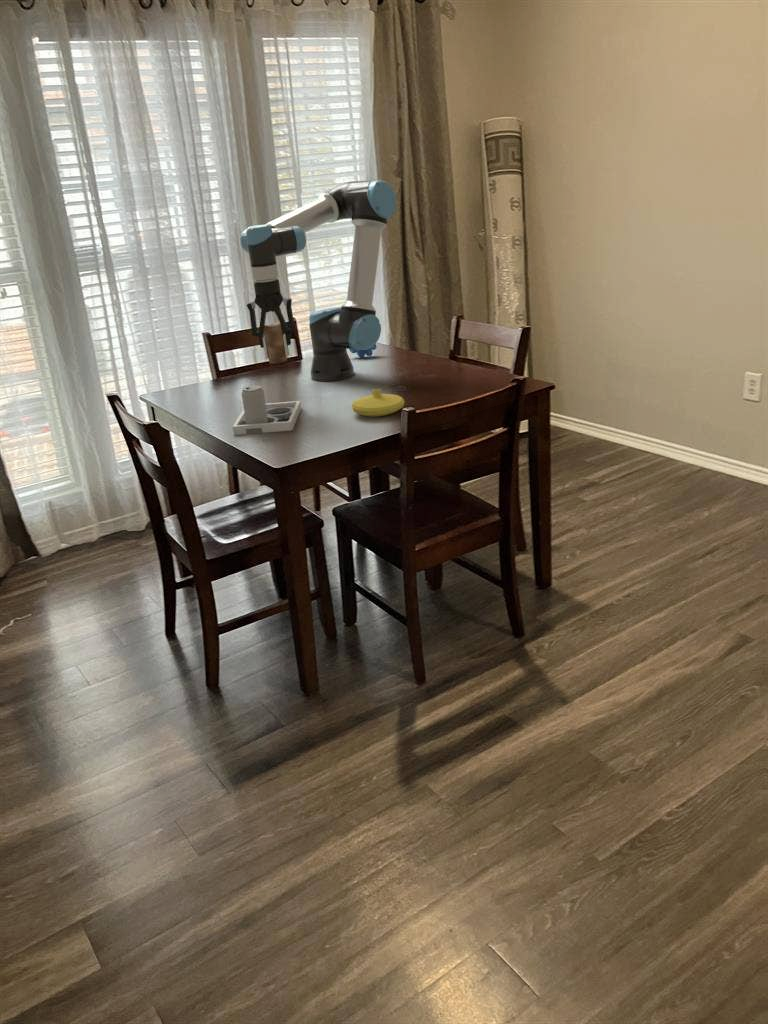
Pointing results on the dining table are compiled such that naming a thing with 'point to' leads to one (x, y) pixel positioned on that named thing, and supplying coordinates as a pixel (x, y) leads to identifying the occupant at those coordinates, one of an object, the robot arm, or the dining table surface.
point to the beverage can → (254, 405)
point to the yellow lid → (378, 404)
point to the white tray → (271, 419)
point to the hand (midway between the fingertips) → (277, 356)
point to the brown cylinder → (275, 343)
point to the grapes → (363, 351)
